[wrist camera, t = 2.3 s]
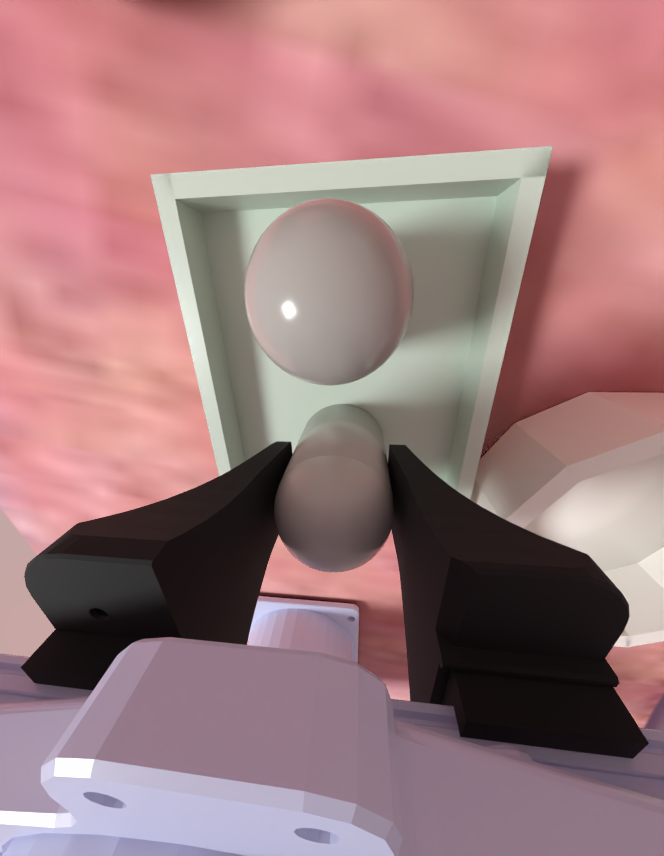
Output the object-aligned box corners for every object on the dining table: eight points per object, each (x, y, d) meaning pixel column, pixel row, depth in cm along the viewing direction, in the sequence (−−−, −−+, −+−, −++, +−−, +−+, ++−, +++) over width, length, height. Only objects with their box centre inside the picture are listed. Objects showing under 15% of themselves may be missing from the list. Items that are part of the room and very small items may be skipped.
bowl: (652, 582, 15) (727, 656, 12) (448, 568, 16) (468, 632, 13) (781, 393, 11) (954, 433, 8) (487, 390, 12) (532, 425, 9)
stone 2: (381, 478, 14) (395, 607, 8) (305, 475, 14) (265, 596, 8) (386, 404, 12) (407, 501, 6) (299, 403, 12) (246, 493, 7)
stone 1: (389, 352, 11) (418, 410, 5) (295, 352, 12) (230, 407, 6) (397, 238, 10) (449, 151, 4) (288, 242, 10) (186, 170, 4)
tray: (450, 501, 14) (463, 530, 13) (244, 491, 16) (228, 517, 14) (514, 176, 9) (552, 146, 7) (188, 196, 10) (150, 174, 8)
